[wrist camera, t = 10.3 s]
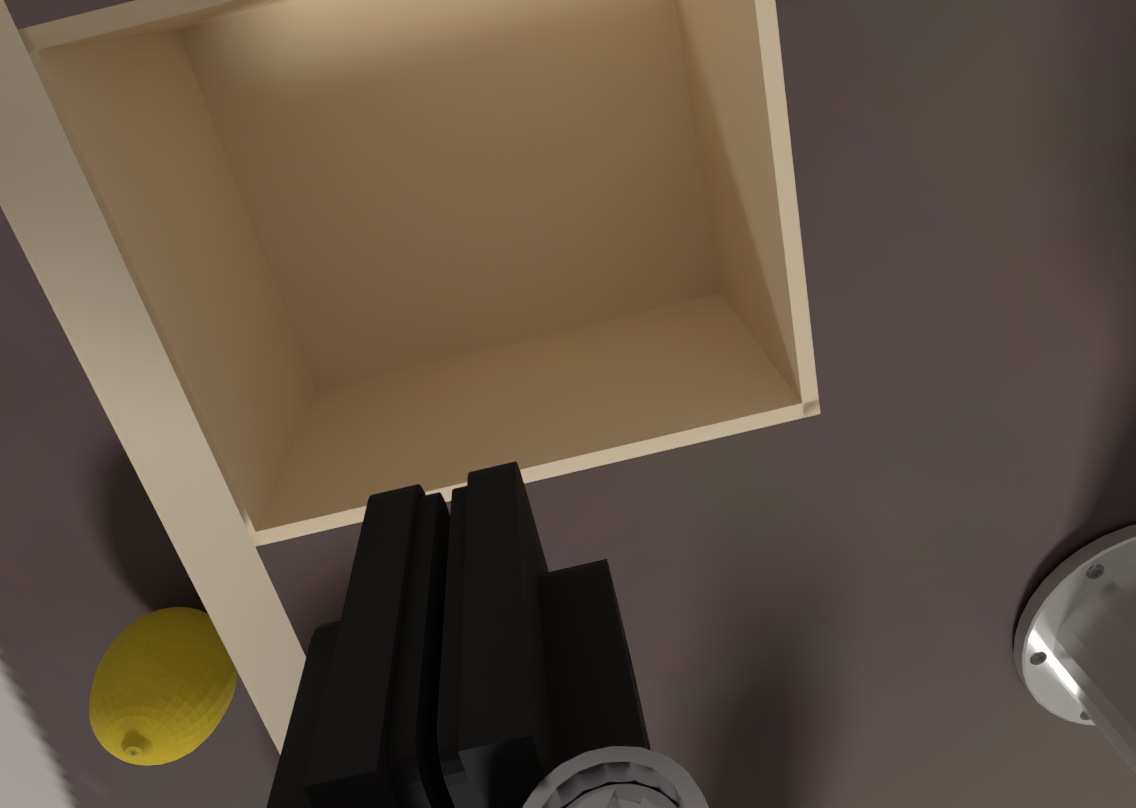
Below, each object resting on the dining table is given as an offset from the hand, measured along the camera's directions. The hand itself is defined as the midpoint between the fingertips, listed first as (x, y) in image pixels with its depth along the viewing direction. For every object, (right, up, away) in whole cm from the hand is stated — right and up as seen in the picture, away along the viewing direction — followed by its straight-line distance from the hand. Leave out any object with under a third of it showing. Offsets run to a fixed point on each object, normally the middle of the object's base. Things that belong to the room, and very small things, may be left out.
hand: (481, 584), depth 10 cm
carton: (-3, +11, +24) cm, 26 cm away
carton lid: (-6, +2, +6) cm, 9 cm away
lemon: (-16, -8, +32) cm, 36 cm away
